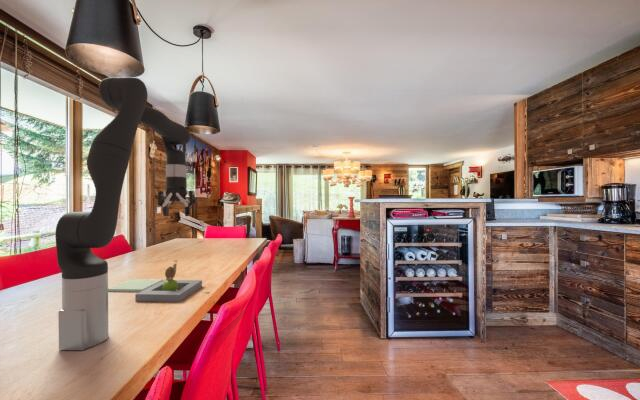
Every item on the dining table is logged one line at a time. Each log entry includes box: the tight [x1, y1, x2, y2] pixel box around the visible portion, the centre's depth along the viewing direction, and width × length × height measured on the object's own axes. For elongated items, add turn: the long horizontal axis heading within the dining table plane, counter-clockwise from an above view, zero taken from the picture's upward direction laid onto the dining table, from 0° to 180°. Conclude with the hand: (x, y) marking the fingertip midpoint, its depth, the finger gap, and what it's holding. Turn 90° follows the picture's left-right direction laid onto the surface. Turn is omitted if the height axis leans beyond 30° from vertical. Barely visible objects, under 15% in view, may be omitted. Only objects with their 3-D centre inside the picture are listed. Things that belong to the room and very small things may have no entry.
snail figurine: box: [162, 260, 179, 291], centre depth 113 cm, size 5×6×12 cm
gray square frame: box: [134, 279, 203, 303], centre depth 114 cm, size 18×16×2 cm
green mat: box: [108, 278, 164, 293], centre depth 122 cm, size 14×14×1 cm
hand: (176, 216), depth 120 cm, fingers open, 8 cm apart
